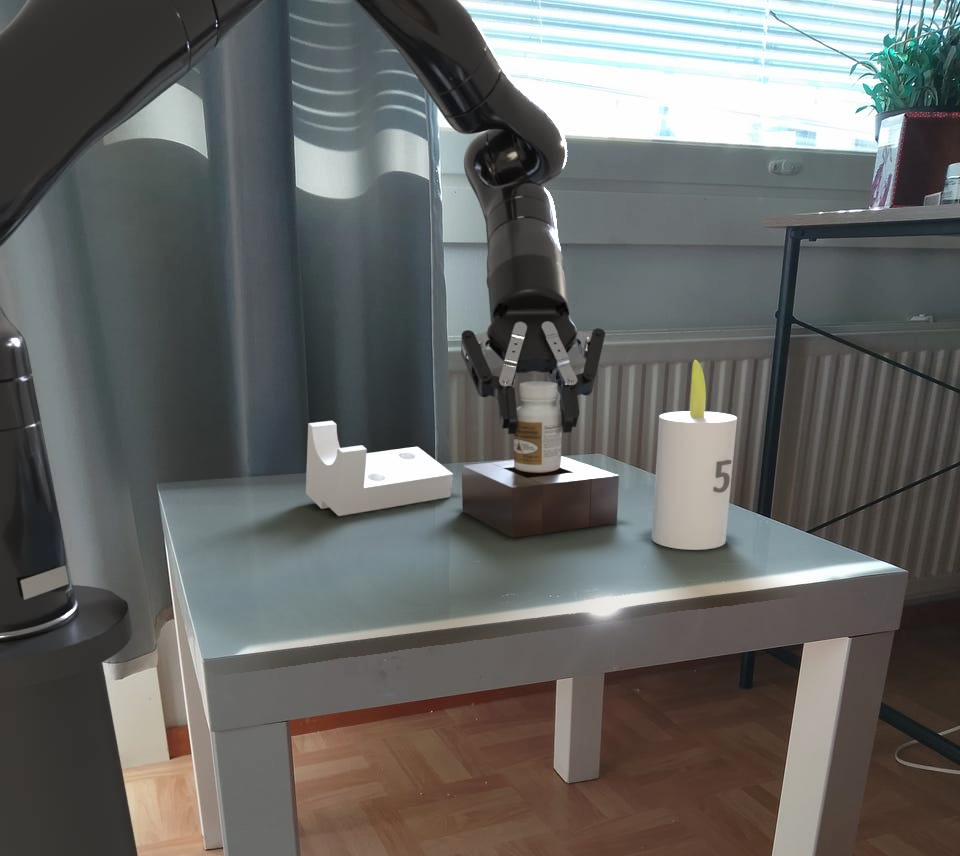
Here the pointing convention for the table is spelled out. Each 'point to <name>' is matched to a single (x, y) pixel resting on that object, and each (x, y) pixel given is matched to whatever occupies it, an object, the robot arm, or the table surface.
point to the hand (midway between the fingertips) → (540, 427)
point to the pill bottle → (538, 428)
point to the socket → (539, 497)
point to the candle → (693, 473)
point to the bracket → (369, 474)
